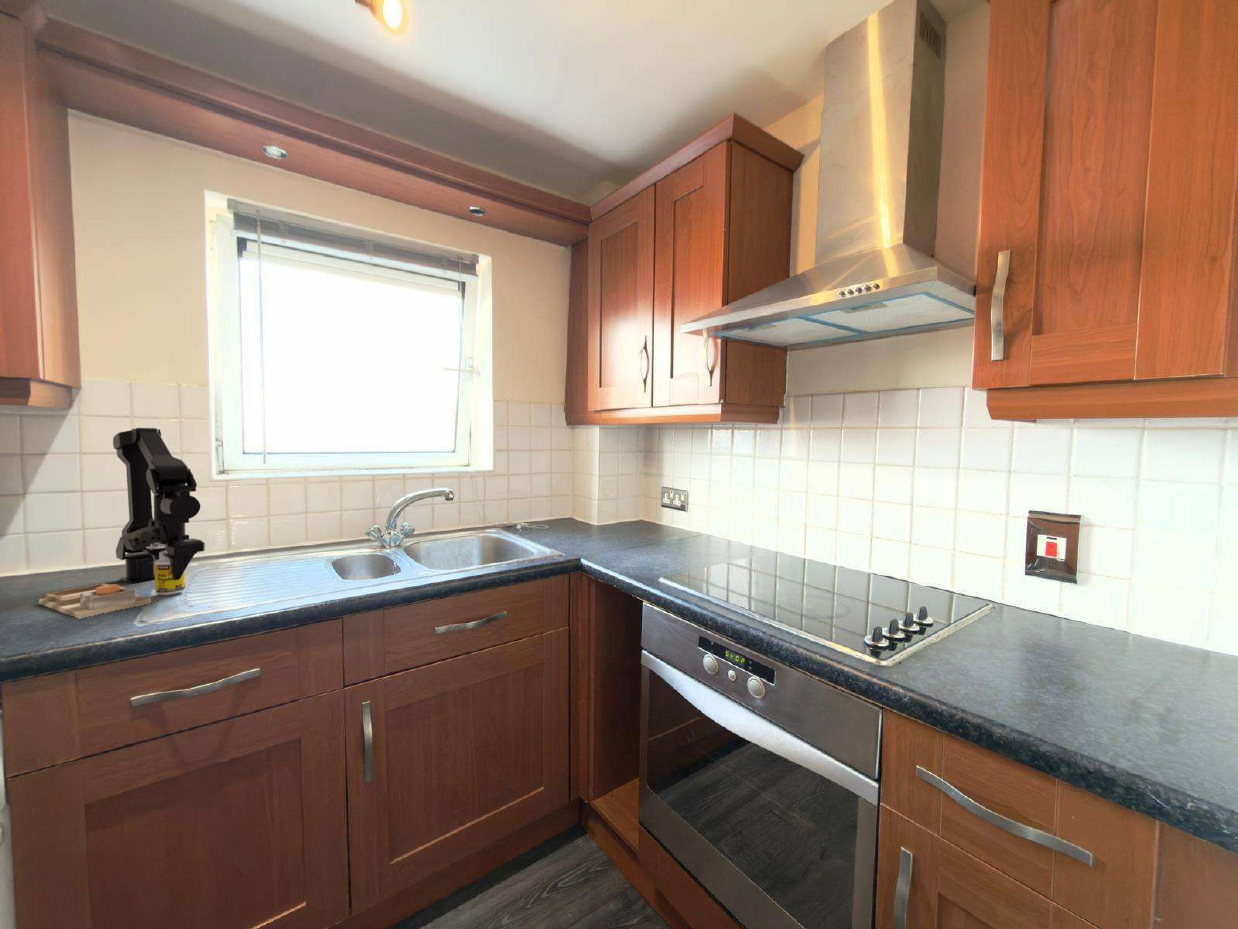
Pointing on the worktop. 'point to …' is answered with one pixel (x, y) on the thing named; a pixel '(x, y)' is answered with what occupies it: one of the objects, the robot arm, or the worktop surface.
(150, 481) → the robot arm
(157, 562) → the supplement bottle
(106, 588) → the button
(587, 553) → the worktop surface
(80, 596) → the pallet
